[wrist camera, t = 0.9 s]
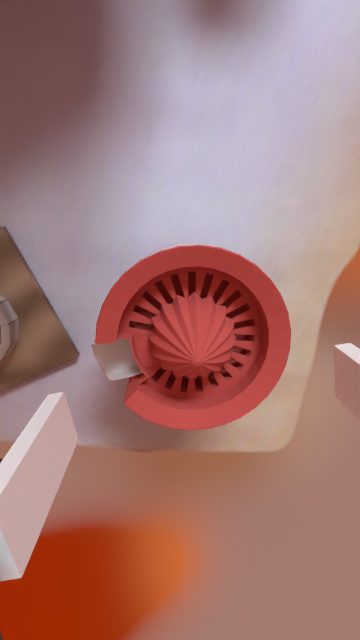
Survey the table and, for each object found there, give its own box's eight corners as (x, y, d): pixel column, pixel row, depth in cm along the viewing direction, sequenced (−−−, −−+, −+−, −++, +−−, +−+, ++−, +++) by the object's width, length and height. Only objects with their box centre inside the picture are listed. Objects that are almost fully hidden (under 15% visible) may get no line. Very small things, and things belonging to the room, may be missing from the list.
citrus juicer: (91, 268, 40) (20, 306, 21) (223, 218, 39) (275, 210, 20) (138, 374, 44) (115, 487, 25) (258, 332, 43) (329, 417, 24)
